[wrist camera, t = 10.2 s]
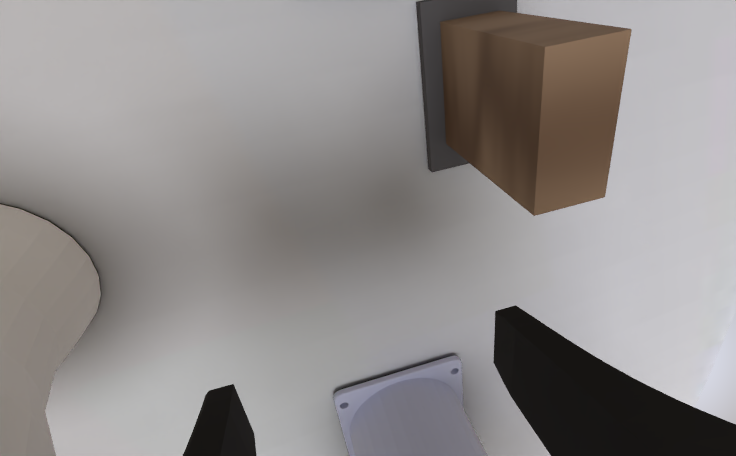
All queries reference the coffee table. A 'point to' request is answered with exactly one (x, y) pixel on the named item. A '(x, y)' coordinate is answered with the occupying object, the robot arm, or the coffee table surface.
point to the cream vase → (37, 322)
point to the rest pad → (440, 6)
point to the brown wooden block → (534, 103)
